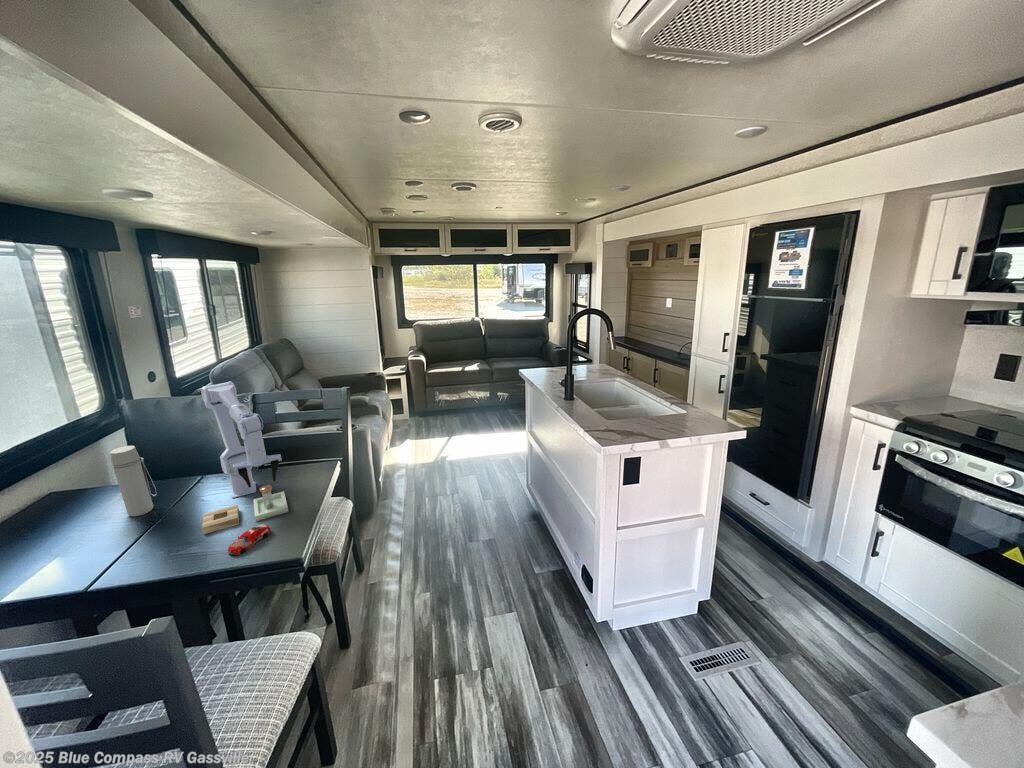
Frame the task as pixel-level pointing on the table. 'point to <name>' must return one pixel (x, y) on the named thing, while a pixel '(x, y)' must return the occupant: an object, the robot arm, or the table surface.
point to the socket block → (220, 519)
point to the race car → (249, 539)
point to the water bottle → (132, 480)
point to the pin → (267, 496)
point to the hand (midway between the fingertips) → (262, 483)
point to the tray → (278, 508)
